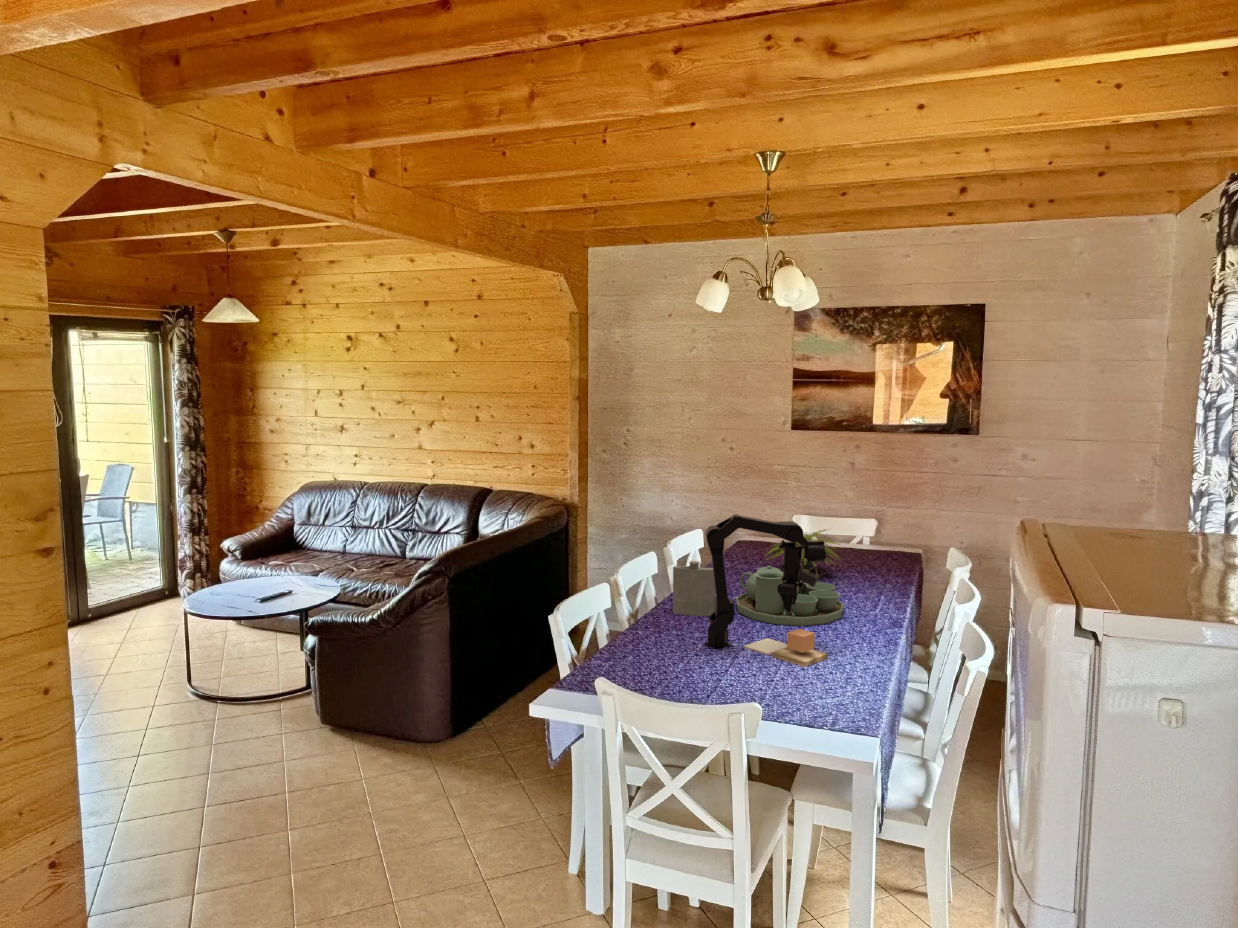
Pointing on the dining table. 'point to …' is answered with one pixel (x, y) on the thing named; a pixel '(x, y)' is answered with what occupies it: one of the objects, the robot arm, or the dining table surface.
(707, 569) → the hip flask
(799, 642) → the orange cube
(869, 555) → the dining table surface
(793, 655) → the post stand
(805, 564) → the fern plant
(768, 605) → the tea set
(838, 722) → the dining table surface
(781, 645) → the pad
